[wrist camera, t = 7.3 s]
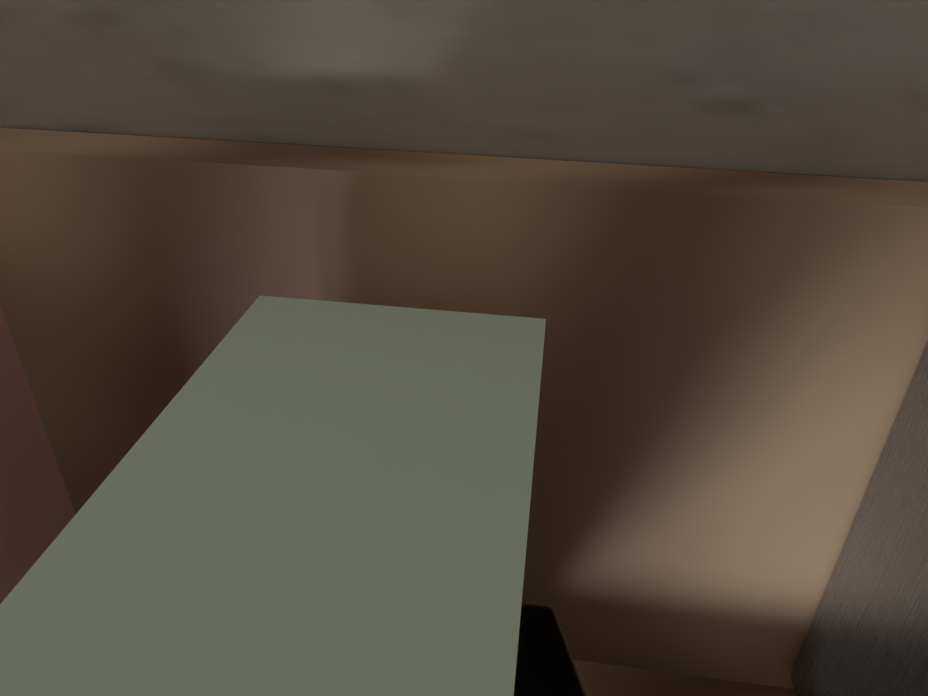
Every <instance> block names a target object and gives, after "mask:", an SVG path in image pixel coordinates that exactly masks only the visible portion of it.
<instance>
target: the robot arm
mask: <svg viewBox="0 0 928 696" xmlns="http://www.w3.org/2000/svg"><path fill="white" fill-rule="evenodd" d="M514 696H587V695H586V693H585V690H584V687H583V685H582V682H581V680H580V677H579V674H578V672H577V669H576V666H575V664H574V661H573V659H572V656H571V653H570V651H569V648H568V645H567V643H566V640H565V638H564V635H563V632H562V630H561V627H560V625H559V622H558V619H557V617H556V614H555V612H554V611H553V609H552V608H550V607H548V606H542V605H534V604H522V605H521V616H520V628H519V640H518V651H517V663H516V674H515V686H514Z"/></svg>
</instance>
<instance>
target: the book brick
mask: <svg viewBox="0 0 928 696" xmlns="http://www.w3.org/2000/svg"><path fill="white" fill-rule="evenodd" d="M75 515H76V514H75V511H74V508H73V505H72V503H71V500H70V497H69V494H68V492H67V489H66V486H65V483H64V480H63V478H62V475H61V472H60V469H59V467H58V464H57V461H56V458H55V455H54V453H53V450H52V447H51V444H50V442H49V439H48V436H47V433H46V430H45V428H44V425H43V422H42V419H41V416H40V414H39V411H38V408H37V405H36V403H35V400H34V397H33V394H32V391H31V389H30V386H29V383H28V380H27V378H26V375H25V372H24V369H23V366H22V364H21V361H20V358H19V355H18V353H17V350H16V347H15V344H14V341H13V339H12V336H11V333H10V330H9V328H8V325H7V322H6V319H5V316H4V314H3V311H2V308H1V305H0V604H1V603H2V602H3V601H4V599H5V598H6V597H7V596H8V595H9V593H10V592H11V591H12V590H13V589H14V587H15V586H16V585H17V584H18V583H19V581H20V580H21V579H22V578H23V577H24V576H25V574H26V573H27V572H28V571H29V570H30V568H31V567H32V566H33V565H34V564H35V562H36V561H37V560H38V559H39V558H40V556H41V555H42V554H43V553H44V552H45V551H46V549H47V548H48V547H49V546H50V545H51V543H52V542H53V541H54V540H55V539H56V537H57V536H58V535H59V534H60V533H61V531H62V530H63V529H64V528H65V527H66V525H67V524H68V523H69V522H70V521H71V520H72V518H73V517H74V516H75Z"/></svg>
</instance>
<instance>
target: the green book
mask: <svg viewBox="0 0 928 696" xmlns="http://www.w3.org/2000/svg"><path fill="white" fill-rule="evenodd" d="M545 325H546V319H542V318H530V317H517V316H505V315H493V314H481V313H468V312H456V311H444V310H432V309H419V308H407V307H395V306H383V305H370V304H358V303H346V302H334V301H321V300H309V299H297V298H285V297H272V296H259V297H258V298H257V299H256V300H255V302H254V303H253V304H252V305H251V306H250V308H249V309H248V310H247V311H246V312H245V314H244V315H243V316H242V317H241V318H240V319H239V321H238V322H237V323H236V324H235V325H234V327H233V328H232V329H231V330H230V331H229V333H228V334H227V335H226V336H225V337H224V339H223V340H222V341H221V342H220V343H219V345H218V346H217V347H216V348H215V349H214V350H213V352H212V353H211V354H210V355H209V356H208V358H207V359H206V360H205V361H204V362H203V364H202V365H201V366H200V367H199V368H198V370H197V371H196V372H195V373H194V374H193V375H192V377H191V378H190V379H189V380H188V381H187V383H186V384H185V385H184V386H183V387H182V389H181V390H180V391H179V392H178V393H177V395H176V396H175V397H174V398H173V399H172V400H171V402H170V403H169V404H168V405H167V406H166V408H165V409H164V410H163V411H162V412H161V414H160V415H159V416H158V417H157V418H156V420H155V421H154V422H153V423H152V424H151V425H150V427H149V428H148V429H147V430H146V431H145V433H144V434H143V435H142V436H141V437H140V439H139V440H138V441H137V442H136V443H135V445H134V446H133V447H132V448H131V449H130V450H129V452H128V453H127V454H126V455H125V456H124V458H123V459H122V460H121V461H120V462H119V464H118V465H117V466H116V467H115V468H114V470H113V471H112V472H111V473H110V474H109V475H108V477H107V478H106V479H105V480H104V481H103V483H102V484H101V485H100V486H99V487H98V489H97V490H96V491H95V492H94V493H93V495H92V496H91V497H90V498H89V499H88V500H87V502H86V503H85V504H84V505H83V506H82V508H81V509H80V510H79V511H78V512H77V514H76V515H75V516H74V517H73V518H72V520H71V521H70V522H69V523H68V524H67V525H66V527H65V528H64V529H63V530H62V531H61V533H60V534H59V535H58V536H57V537H56V539H55V540H54V541H53V542H52V543H51V545H50V546H49V547H48V548H47V549H46V551H45V552H44V553H43V554H42V555H41V556H40V558H39V559H38V560H37V561H36V562H35V564H34V565H33V566H32V567H31V568H30V570H29V571H28V572H27V573H26V574H25V576H24V577H23V578H22V579H21V580H20V581H19V583H18V584H17V585H16V586H15V587H14V589H13V590H12V591H11V592H10V593H9V595H8V596H7V597H6V598H5V599H4V601H3V602H2V603H1V604H0V696H514V686H515V674H516V663H517V651H518V640H519V628H520V616H521V605H522V593H523V581H524V570H525V558H526V546H527V535H528V523H529V511H530V500H531V488H532V477H533V465H534V453H535V442H536V430H537V418H538V407H539V395H540V383H541V372H542V360H543V348H544V337H545Z"/></svg>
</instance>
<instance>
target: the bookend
mask: <svg viewBox="0 0 928 696" xmlns="http://www.w3.org/2000/svg"><path fill="white" fill-rule="evenodd" d="M790 676H791V680H792V683H793V687H794V691H795V694H796V696H928V343H927V345H926V348H925V350H924V353H923V355H922V357H921V360H920V362H919V365H918V367H917V370H916V372H915V374H914V377H913V379H912V382H911V384H910V387H909V389H908V391H907V394H906V396H905V399H904V401H903V404H902V406H901V408H900V411H899V413H898V416H897V418H896V420H895V423H894V425H893V428H892V430H891V433H890V435H889V437H888V440H887V442H886V445H885V447H884V450H883V452H882V454H881V457H880V459H879V462H878V464H877V467H876V469H875V471H874V474H873V476H872V479H871V481H870V483H869V486H868V488H867V491H866V493H865V496H864V498H863V500H862V503H861V505H860V508H859V510H858V513H857V515H856V517H855V520H854V522H853V525H852V527H851V530H850V532H849V534H848V537H847V539H846V542H845V544H844V546H843V549H842V551H841V554H840V556H839V559H838V561H837V563H836V566H835V568H834V571H833V573H832V576H831V578H830V580H829V583H828V585H827V588H826V590H825V593H824V595H823V597H822V600H821V602H820V605H819V607H818V609H817V612H816V614H815V617H814V619H813V622H812V624H811V626H810V629H809V631H808V634H807V636H806V639H805V641H804V643H803V646H802V648H801V651H800V653H799V656H798V658H797V660H796V663H795V665H794V668H793V670H792V673H791V675H790Z"/></svg>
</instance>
